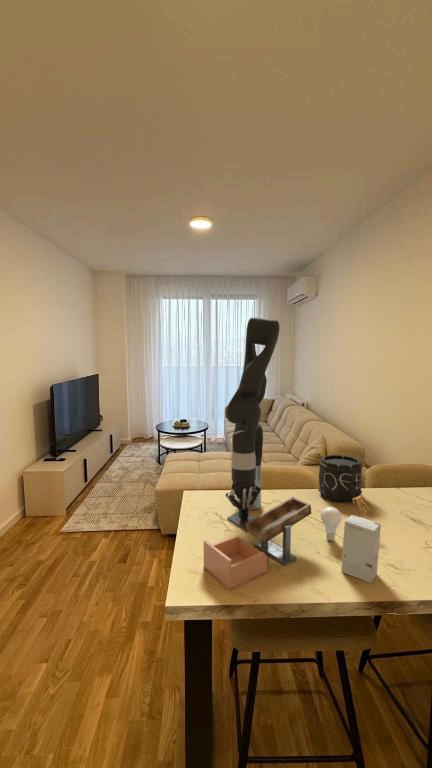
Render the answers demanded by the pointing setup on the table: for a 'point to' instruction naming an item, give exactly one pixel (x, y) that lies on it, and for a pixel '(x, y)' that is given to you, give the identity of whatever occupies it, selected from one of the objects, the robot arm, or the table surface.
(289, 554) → the lever stand
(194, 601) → the table surface
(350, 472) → the chalkboard pot
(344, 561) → the skincare box
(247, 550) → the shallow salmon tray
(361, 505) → the figurine
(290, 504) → the lever trough
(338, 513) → the lightbulb
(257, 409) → the robot arm
